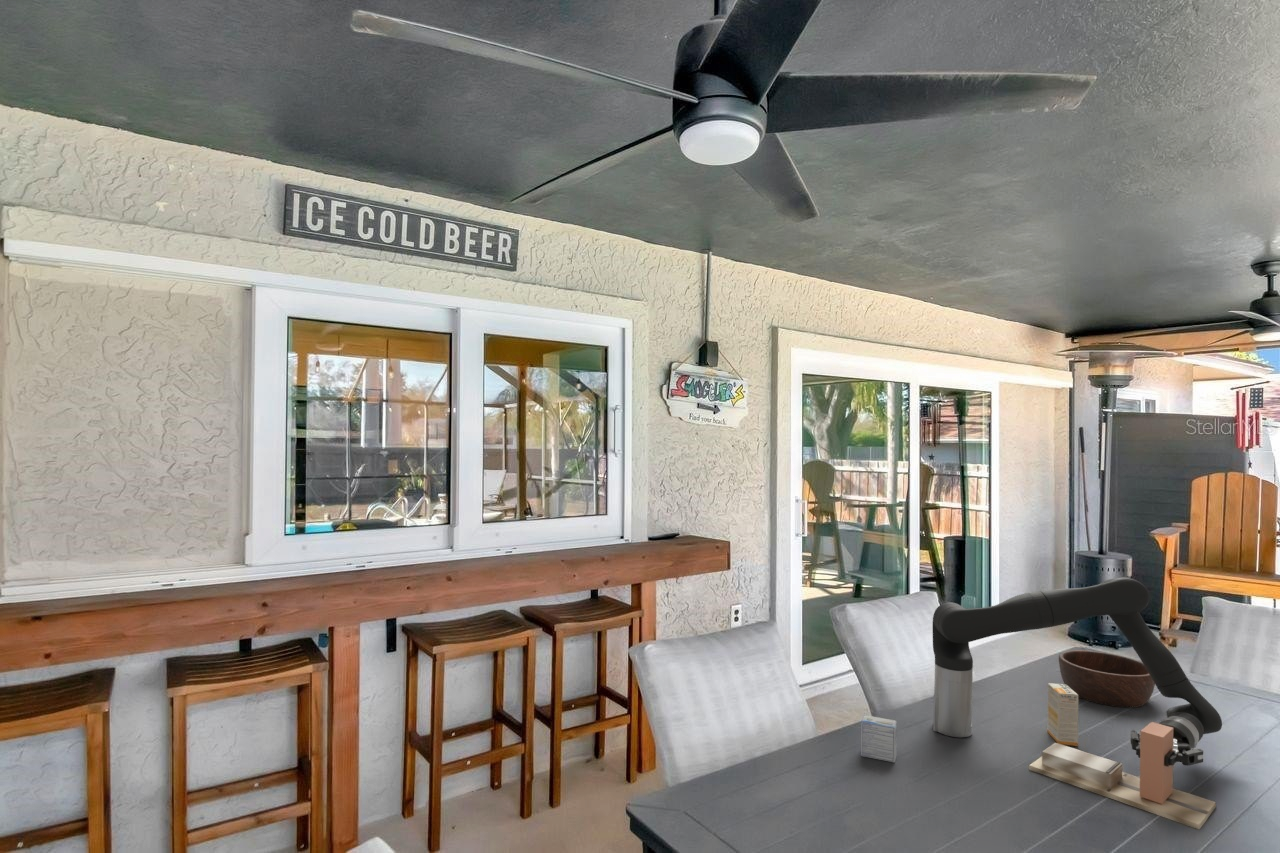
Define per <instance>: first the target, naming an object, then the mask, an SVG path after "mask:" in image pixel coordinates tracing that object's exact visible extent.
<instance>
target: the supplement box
mask: <svg viewBox="0 0 1280 853" xmlns="http://www.w3.org/2000/svg"><path fill="white" fill-rule="evenodd" d="M1046 727H1047V728H1046V730H1047V731H1046V732H1047V733H1048V734H1049V735H1050V736H1051V738H1052V739H1053V740H1054V741H1056V742H1055V743H1058V744H1061V745H1065V746H1075V747H1078V746H1079V745H1078V744H1079V737H1078V736H1079V697H1078V694H1077V693H1075V692H1074V691H1073V690H1072V689H1071V688H1070V687H1068V686H1067V685H1065V684H1063V683H1052V682H1048V683H1047V726H1046Z"/></svg>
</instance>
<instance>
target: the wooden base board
mask: <svg viewBox="0 0 1280 853" xmlns="http://www.w3.org/2000/svg"><path fill="white" fill-rule="evenodd" d="M1028 770H1030V771H1032V772H1035V773H1038V774H1040V775H1043V776H1047V777H1049V778H1052V779H1055V780H1057V781H1061V782H1063V783H1066V784H1069V785H1071V786H1075V787H1077V788H1080V789H1083V790H1086V791H1088V792H1092V793H1095V794H1098V795H1100V796H1104V797H1105V798H1109V799H1112V800H1114V801H1117V802H1121V803H1123V804H1124V805H1125V804H1126V805H1128V806H1132V807H1134V808H1137V809H1140V810H1142V811H1146V812H1149V813H1152V814H1153V815H1157V816H1159V817H1163V818H1164V819H1168V820H1171V821H1173V822H1177V823H1178V824H1179V823H1180V824H1182V825H1185V826H1188V827H1191V828H1193V829H1195V830H1196V829H1197V830H1200V829H1201V828H1202V827H1203V825H1204V824H1205V823H1206V821H1207V820H1208V818H1209V817H1210V815H1211V814H1212V813H1213V812H1214V810H1215V809H1216V807H1217V802H1216V801H1214V800H1210V799H1206V798H1204V797H1201V796H1198V795H1195V794H1192V793H1189V792H1185V791H1183V790H1180V789H1177V788H1174V787H1173V792H1172V794H1171V795H1170V796H1169V797H1168V798H1167V799H1166V800H1165V801H1164V803H1163V804H1160V803H1157V802H1155V801H1152V800H1149V799H1146V798H1143V797H1140V776H1138V775H1133V774H1131V773H1127V772H1124V771H1123V763H1121V762H1120V761H1116V760H1115V761H1114V760H1111V759H1108V758H1106V757H1102V756H1099V755H1096V754H1092V753H1089V752H1086V751H1083V750H1079V749H1077V748H1074V747H1070V746H1069V745H1063V744H1058V743H1057V742H1054V743H1052V744H1051V745H1049V746H1048V747H1047V748H1045V749H1043V751H1041V756H1040V757H1039V758H1038V759H1036V760H1034V761H1033V762H1032V763H1031V764H1029V765H1028Z"/></svg>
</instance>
